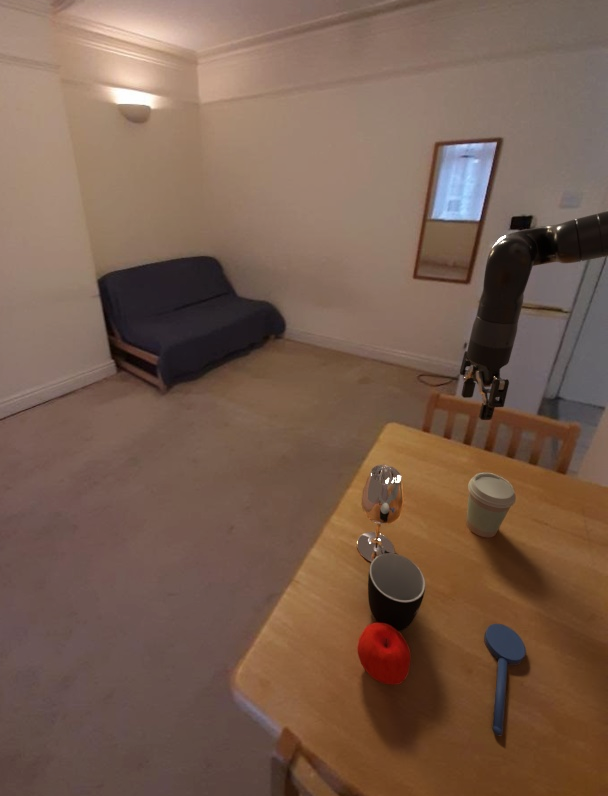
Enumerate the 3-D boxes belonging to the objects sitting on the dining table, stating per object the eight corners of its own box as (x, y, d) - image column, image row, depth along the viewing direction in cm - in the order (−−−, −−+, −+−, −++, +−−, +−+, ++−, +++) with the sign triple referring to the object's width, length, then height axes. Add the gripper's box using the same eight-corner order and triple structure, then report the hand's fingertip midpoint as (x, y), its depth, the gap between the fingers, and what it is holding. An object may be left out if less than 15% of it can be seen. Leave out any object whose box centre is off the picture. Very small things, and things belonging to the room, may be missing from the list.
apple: (414, 698, 61) (421, 671, 58) (360, 694, 61) (364, 667, 58) (400, 641, 68) (405, 614, 65) (352, 638, 69) (355, 611, 65)
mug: (417, 647, 67) (426, 610, 63) (361, 630, 70) (367, 592, 65) (416, 582, 77) (424, 546, 73) (367, 569, 80) (372, 533, 76)
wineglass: (398, 567, 80) (412, 491, 71) (357, 562, 81) (366, 487, 73) (391, 534, 87) (403, 462, 78) (354, 530, 88) (362, 459, 80)
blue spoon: (486, 622, 70) (487, 617, 70) (524, 640, 67) (526, 635, 67) (473, 723, 58) (475, 718, 57) (519, 750, 55) (522, 745, 54)
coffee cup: (503, 520, 89) (517, 478, 84) (503, 549, 83) (517, 506, 77) (461, 505, 93) (471, 465, 88) (457, 533, 87) (468, 491, 81)
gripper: (532, 354, 73) (511, 427, 80) (493, 324, 86) (477, 390, 93) (489, 354, 73) (472, 427, 80) (457, 325, 86) (444, 390, 93)
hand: (475, 407), depth 87 cm, fingers open, 8 cm apart
